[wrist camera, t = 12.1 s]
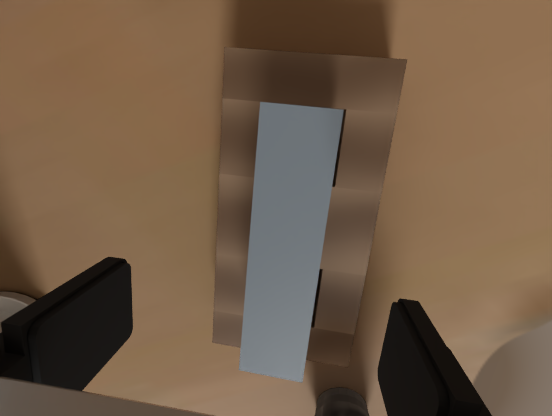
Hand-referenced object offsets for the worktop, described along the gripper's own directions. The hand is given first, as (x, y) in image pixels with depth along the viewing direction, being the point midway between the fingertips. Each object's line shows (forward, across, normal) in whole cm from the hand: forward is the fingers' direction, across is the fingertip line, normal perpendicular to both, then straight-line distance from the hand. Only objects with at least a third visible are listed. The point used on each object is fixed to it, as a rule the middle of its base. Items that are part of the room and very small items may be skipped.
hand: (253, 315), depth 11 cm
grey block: (+13, -1, 0) cm, 13 cm away
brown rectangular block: (+13, -1, -1) cm, 13 cm away
